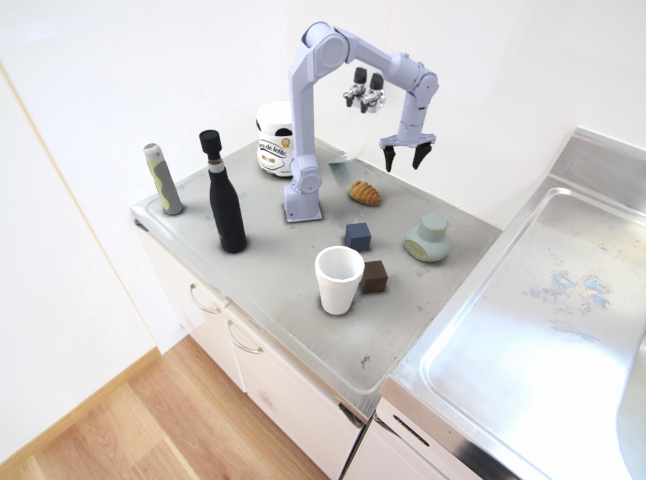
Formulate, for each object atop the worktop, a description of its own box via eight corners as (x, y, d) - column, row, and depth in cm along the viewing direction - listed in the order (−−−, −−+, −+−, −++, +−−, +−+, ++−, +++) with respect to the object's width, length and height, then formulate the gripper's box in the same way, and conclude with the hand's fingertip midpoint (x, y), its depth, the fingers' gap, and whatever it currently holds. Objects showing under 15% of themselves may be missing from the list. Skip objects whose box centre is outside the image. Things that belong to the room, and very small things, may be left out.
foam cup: (312, 287, 78) (313, 247, 68) (352, 284, 78) (358, 244, 69) (317, 323, 72) (318, 284, 62) (361, 319, 72) (368, 280, 62)
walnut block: (363, 293, 77) (365, 279, 73) (357, 276, 80) (359, 262, 76) (384, 291, 77) (388, 276, 73) (378, 274, 80) (381, 260, 77)
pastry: (385, 199, 99) (387, 189, 96) (371, 210, 96) (372, 199, 93) (360, 186, 104) (361, 176, 101) (345, 196, 101) (346, 185, 98)
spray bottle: (173, 217, 96) (148, 152, 81) (162, 211, 97) (135, 147, 83) (186, 208, 98) (164, 143, 83) (175, 202, 100) (151, 138, 85)
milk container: (257, 182, 106) (249, 126, 93) (261, 153, 118) (254, 100, 105) (312, 181, 106) (313, 125, 93) (311, 152, 118) (311, 98, 104)
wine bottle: (251, 239, 89) (231, 128, 67) (240, 255, 85) (215, 144, 63) (229, 233, 91) (202, 124, 68) (217, 250, 87) (185, 139, 64)
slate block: (349, 252, 85) (351, 238, 82) (344, 238, 89) (346, 224, 85) (368, 250, 86) (371, 235, 82) (363, 236, 89) (366, 222, 85)
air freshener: (396, 245, 87) (404, 215, 79) (418, 232, 90) (428, 202, 82) (430, 272, 80) (442, 241, 73) (453, 256, 84) (466, 226, 76)
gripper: (388, 131, 81) (380, 179, 91) (446, 126, 82) (432, 174, 93) (380, 118, 86) (372, 165, 96) (435, 113, 87) (422, 160, 97)
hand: (401, 169), depth 95 cm, fingers open, 7 cm apart
